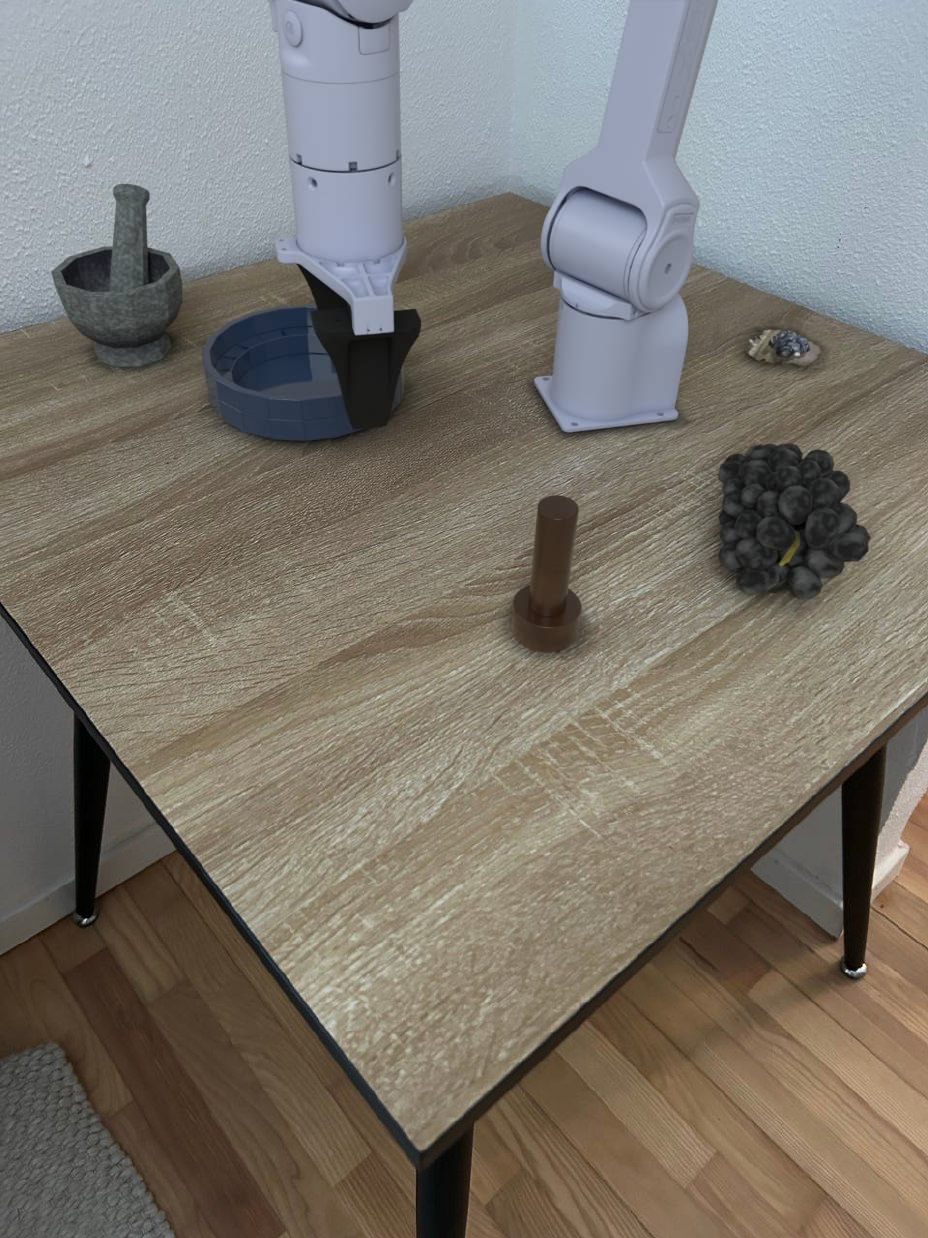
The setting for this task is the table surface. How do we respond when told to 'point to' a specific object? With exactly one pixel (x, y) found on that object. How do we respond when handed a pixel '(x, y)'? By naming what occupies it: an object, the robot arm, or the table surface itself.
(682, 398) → the table surface
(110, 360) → the mortar and pestle
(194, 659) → the table surface
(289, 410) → the bowl
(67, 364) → the table surface
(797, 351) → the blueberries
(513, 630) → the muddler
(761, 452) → the fruit
